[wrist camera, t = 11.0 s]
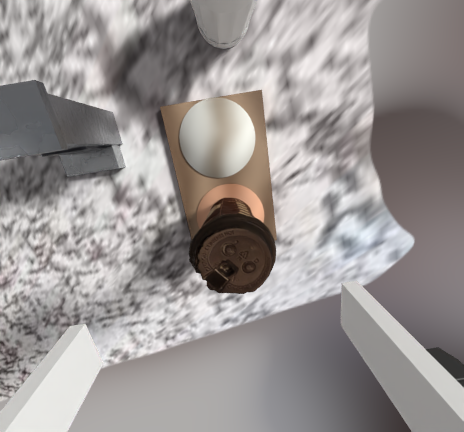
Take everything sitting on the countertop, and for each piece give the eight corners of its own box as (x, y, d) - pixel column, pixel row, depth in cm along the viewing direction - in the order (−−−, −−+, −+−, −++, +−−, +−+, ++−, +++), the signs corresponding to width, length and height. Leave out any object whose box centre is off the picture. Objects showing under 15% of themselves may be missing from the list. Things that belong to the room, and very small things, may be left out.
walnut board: (195, 249, 35) (194, 254, 34) (162, 108, 29) (159, 106, 27) (274, 236, 35) (277, 240, 34) (260, 91, 28) (262, 89, 27)
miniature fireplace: (70, 175, 31) (-30, 196, 19) (47, 118, 28) (-84, 100, 16) (132, 165, 31) (73, 179, 19) (115, 107, 28) (34, 80, 16)
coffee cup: (204, 246, 33) (193, 306, 21) (195, 193, 31) (177, 226, 18) (260, 239, 33) (282, 295, 21) (256, 186, 31) (279, 215, 18)
